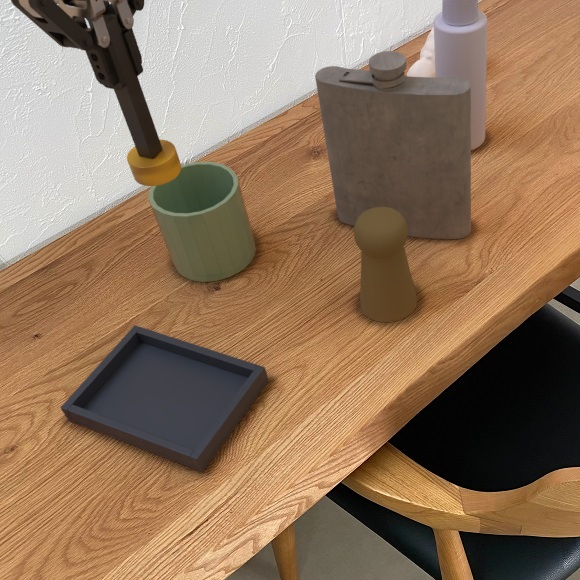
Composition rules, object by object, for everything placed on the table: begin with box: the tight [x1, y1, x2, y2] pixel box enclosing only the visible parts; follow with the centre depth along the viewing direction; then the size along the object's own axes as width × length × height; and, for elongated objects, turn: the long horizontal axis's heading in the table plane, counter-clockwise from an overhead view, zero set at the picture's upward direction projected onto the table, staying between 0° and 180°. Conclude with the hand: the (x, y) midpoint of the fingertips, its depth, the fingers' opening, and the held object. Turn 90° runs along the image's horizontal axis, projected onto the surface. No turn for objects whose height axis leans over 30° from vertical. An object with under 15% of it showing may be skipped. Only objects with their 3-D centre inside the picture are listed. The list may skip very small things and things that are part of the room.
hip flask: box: [314, 50, 472, 240], centre depth 84 cm, size 16×4×20 cm, turn 73°
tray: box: [59, 325, 270, 473], centre depth 76 cm, size 16×12×2 cm
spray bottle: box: [433, 0, 488, 151], centre depth 93 cm, size 6×6×22 cm
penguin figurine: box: [406, 25, 436, 78], centre depth 107 cm, size 6×8×12 cm
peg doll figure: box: [353, 207, 418, 323], centre depth 79 cm, size 6×6×11 cm
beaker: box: [148, 161, 257, 283], centre depth 87 cm, size 9×9×9 cm
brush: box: [103, 15, 182, 187], centre depth 68 cm, size 4×4×14 cm
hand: (123, 79), depth 66 cm, fingers closed on brush
